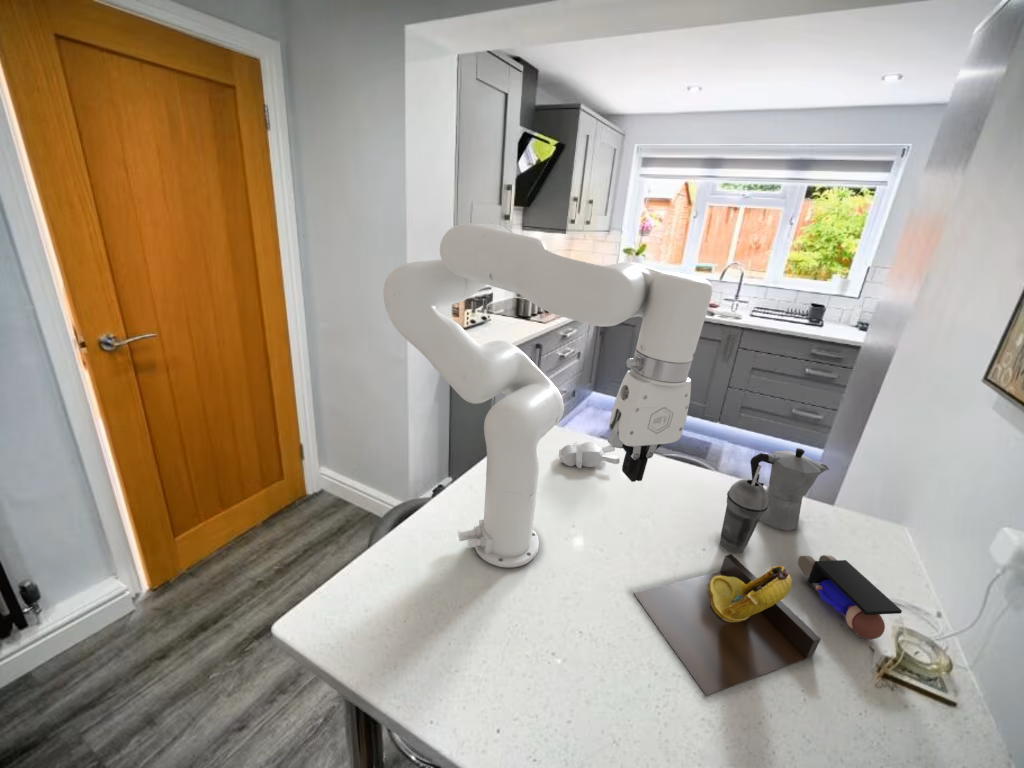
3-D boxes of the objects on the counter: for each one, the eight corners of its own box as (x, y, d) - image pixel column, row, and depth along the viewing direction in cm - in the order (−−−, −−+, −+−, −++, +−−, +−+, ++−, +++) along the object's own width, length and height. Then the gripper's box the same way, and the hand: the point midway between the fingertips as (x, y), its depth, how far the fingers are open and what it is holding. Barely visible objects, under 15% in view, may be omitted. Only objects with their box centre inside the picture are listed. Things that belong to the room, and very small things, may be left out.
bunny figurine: (557, 438, 118) (613, 436, 118) (558, 455, 120) (612, 453, 120) (561, 457, 109) (621, 455, 109) (561, 474, 111) (620, 472, 111)
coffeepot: (798, 509, 103) (824, 443, 96) (816, 537, 94) (846, 466, 87) (729, 498, 105) (750, 432, 98) (740, 523, 96) (764, 453, 90)
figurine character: (788, 580, 84) (854, 647, 70) (797, 546, 82) (868, 608, 67) (820, 579, 85) (892, 645, 70) (830, 546, 83) (906, 606, 68)
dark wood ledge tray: (705, 695, 61) (712, 676, 60) (633, 593, 77) (637, 576, 75) (812, 656, 68) (821, 638, 66) (726, 569, 83) (731, 553, 82)
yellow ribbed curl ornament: (782, 642, 70) (814, 570, 64) (742, 654, 67) (771, 581, 61) (729, 585, 80) (752, 519, 74) (693, 594, 77) (714, 527, 71)
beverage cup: (750, 541, 91) (779, 459, 84) (752, 564, 85) (783, 478, 78) (713, 529, 94) (738, 448, 87) (712, 550, 88) (738, 466, 80)
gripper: (628, 378, 54) (600, 496, 62) (723, 375, 59) (686, 485, 67) (599, 356, 61) (577, 466, 68) (686, 355, 66) (657, 458, 73)
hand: (631, 475), depth 67 cm, fingers closed
